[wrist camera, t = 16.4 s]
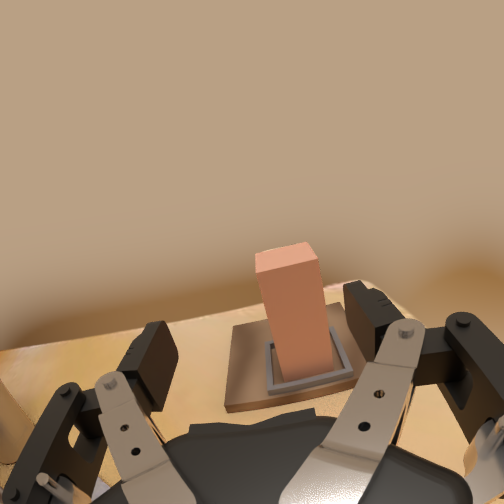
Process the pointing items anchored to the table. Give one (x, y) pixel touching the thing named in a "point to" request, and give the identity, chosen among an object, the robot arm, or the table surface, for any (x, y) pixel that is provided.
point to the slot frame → (311, 381)
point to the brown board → (254, 367)
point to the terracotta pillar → (296, 310)
